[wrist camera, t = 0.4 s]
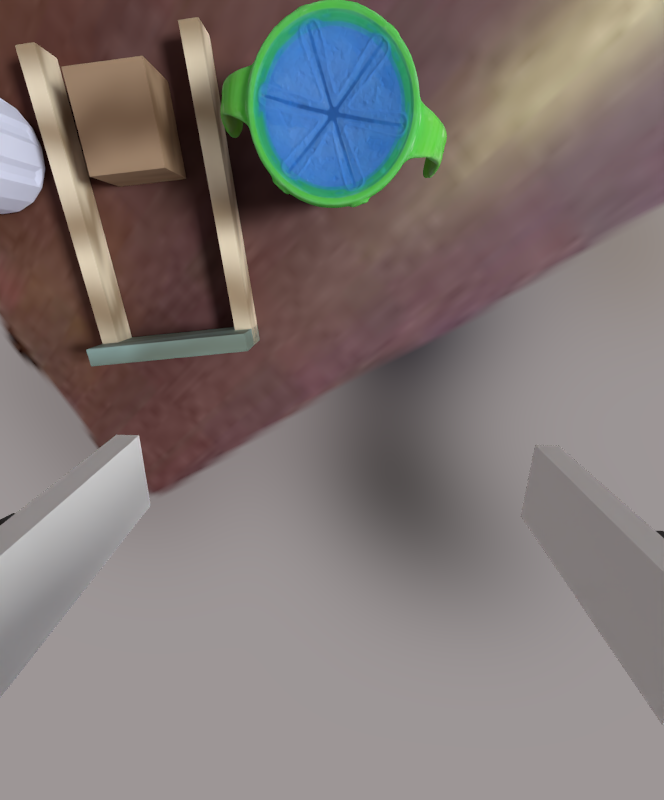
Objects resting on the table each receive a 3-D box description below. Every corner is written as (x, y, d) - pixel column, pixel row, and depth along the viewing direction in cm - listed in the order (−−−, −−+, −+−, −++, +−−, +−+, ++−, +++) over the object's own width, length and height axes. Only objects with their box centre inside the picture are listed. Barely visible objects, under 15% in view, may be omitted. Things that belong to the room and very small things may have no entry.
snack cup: (447, 112, 32) (490, 49, 23) (401, 245, 36) (422, 240, 26) (260, 45, 31) (223, -50, 22) (232, 189, 35) (189, 162, 25)
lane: (39, 61, 32) (-14, 26, 27) (209, 35, 31) (185, -5, 26) (121, 353, 40) (91, 366, 35) (259, 340, 39) (247, 351, 34)
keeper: (98, 92, 33) (61, 66, 29) (169, 82, 32) (142, 55, 28) (120, 187, 35) (89, 176, 31) (187, 179, 35) (165, 167, 30)
